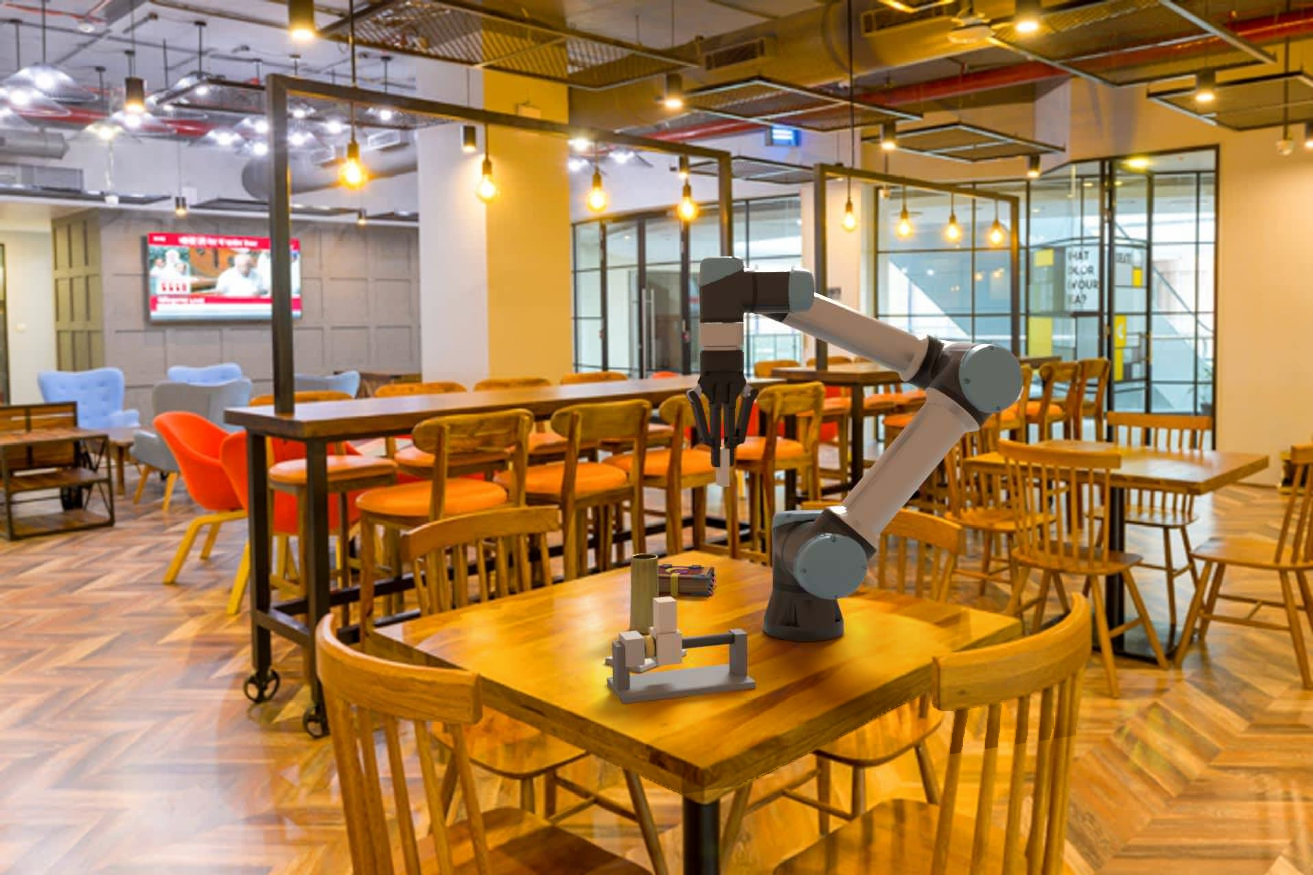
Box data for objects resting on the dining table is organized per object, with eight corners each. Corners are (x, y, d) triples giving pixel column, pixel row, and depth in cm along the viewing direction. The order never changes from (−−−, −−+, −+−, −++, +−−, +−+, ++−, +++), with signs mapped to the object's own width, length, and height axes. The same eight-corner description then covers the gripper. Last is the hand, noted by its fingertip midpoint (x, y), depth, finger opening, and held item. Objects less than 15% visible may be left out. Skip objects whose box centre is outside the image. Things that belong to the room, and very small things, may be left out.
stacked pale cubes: (672, 654, 180) (672, 594, 179) (682, 663, 175) (681, 601, 174) (649, 657, 179) (648, 596, 178) (658, 665, 174) (657, 604, 173)
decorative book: (649, 583, 248) (649, 561, 248) (720, 585, 245) (720, 563, 245) (639, 596, 237) (639, 573, 236) (714, 598, 234) (714, 575, 234)
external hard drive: (605, 666, 190) (651, 649, 200) (640, 675, 185) (686, 657, 195) (604, 657, 190) (651, 640, 200) (640, 666, 185) (686, 648, 194)
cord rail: (732, 669, 186) (732, 616, 185) (755, 687, 177) (755, 631, 176) (607, 683, 180) (606, 628, 179) (623, 703, 170) (622, 645, 169)
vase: (667, 628, 211) (666, 555, 209) (645, 635, 206) (644, 561, 205) (644, 623, 215) (643, 551, 213) (622, 629, 210) (621, 556, 209)
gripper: (748, 347, 193) (749, 480, 195) (678, 349, 189) (680, 484, 191) (765, 348, 186) (766, 486, 188) (693, 350, 182) (694, 491, 184)
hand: (722, 485), depth 190 cm, fingers closed
